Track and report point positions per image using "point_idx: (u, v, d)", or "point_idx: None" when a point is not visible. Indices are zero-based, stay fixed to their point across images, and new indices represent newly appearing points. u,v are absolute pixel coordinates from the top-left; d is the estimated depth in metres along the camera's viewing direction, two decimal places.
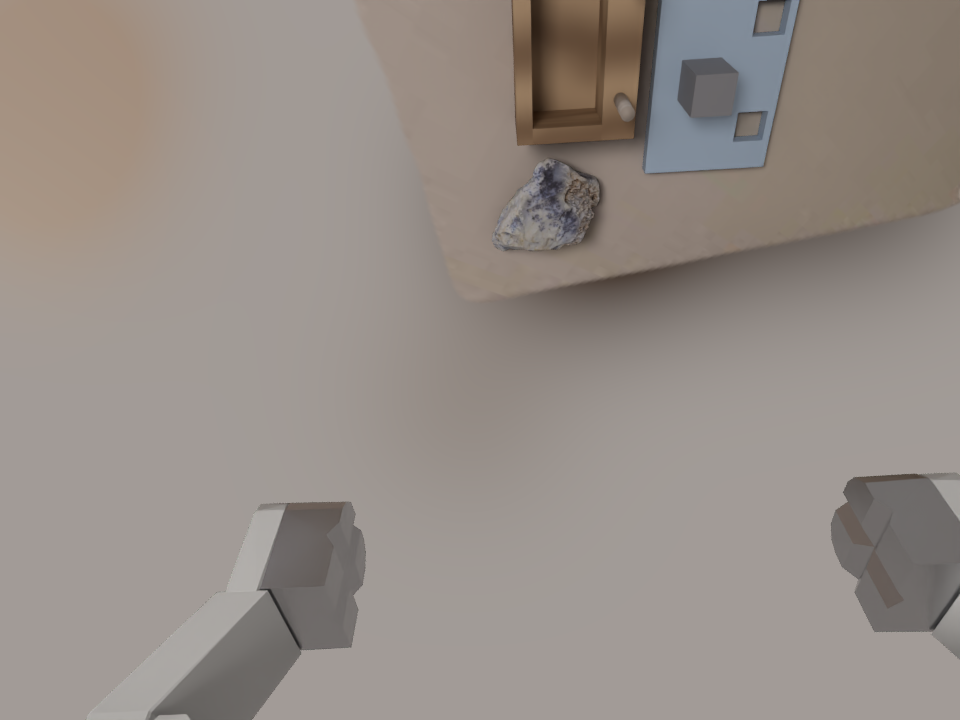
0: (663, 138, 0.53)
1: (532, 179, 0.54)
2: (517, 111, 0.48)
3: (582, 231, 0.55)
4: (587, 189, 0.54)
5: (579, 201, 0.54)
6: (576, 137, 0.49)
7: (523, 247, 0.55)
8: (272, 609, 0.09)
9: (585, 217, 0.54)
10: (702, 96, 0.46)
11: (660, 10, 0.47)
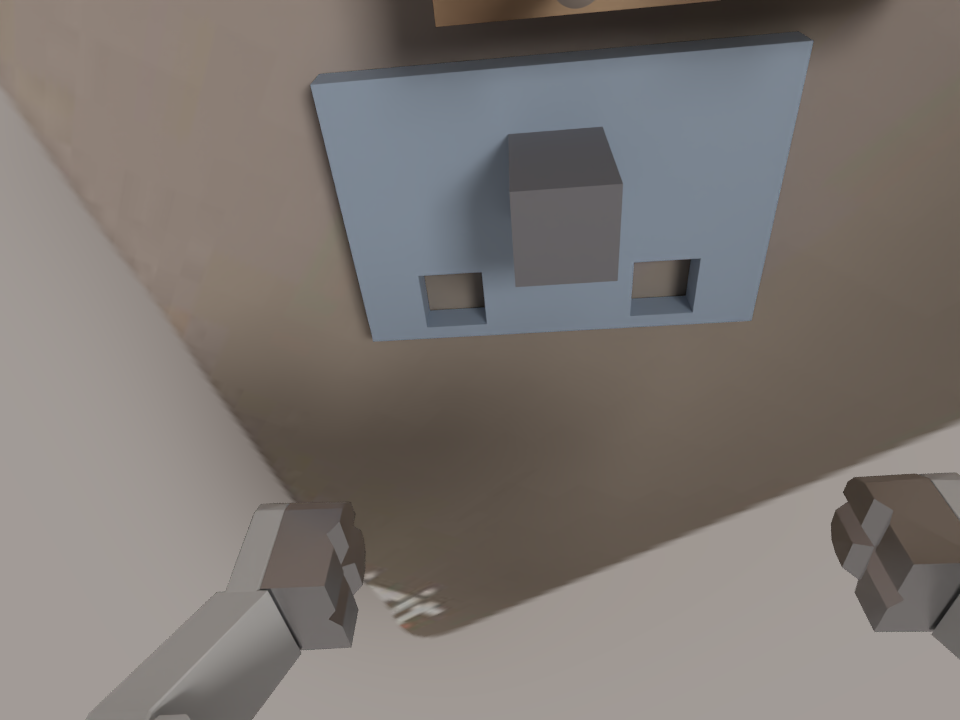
0: (410, 118, 0.20)
1: None
2: None
3: None
4: None
5: None
6: None
7: None
8: (272, 609, 0.09)
9: None
10: (565, 209, 0.17)
11: (723, 46, 0.19)
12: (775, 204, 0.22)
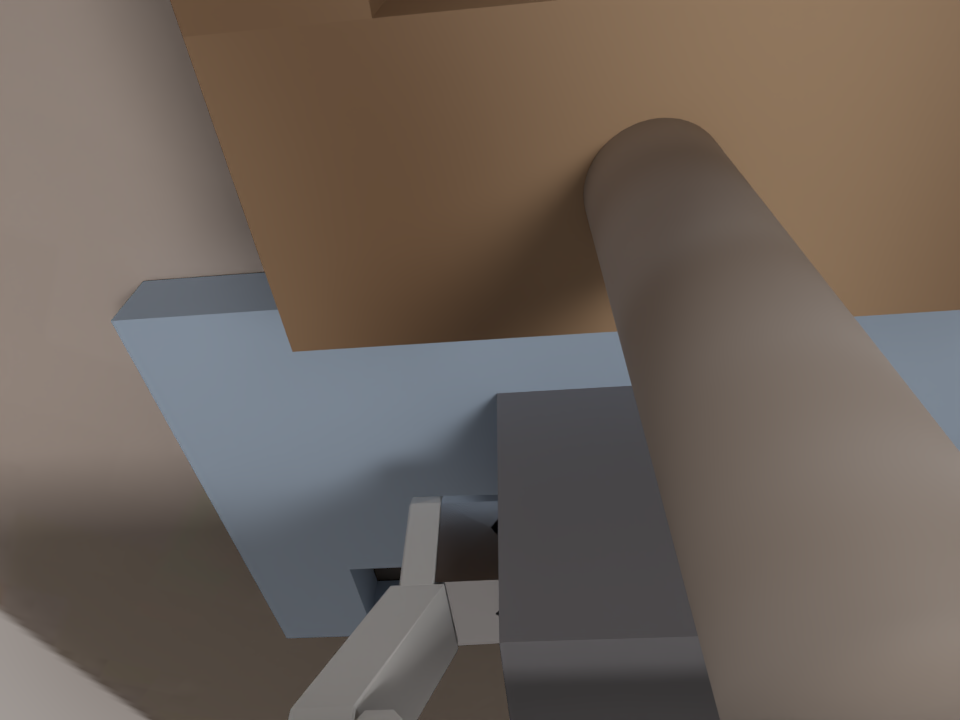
0: (312, 369, 0.11)
1: None
2: None
3: None
4: None
5: None
6: None
7: None
8: (444, 603, 0.09)
9: None
10: (624, 664, 0.08)
11: None
12: None
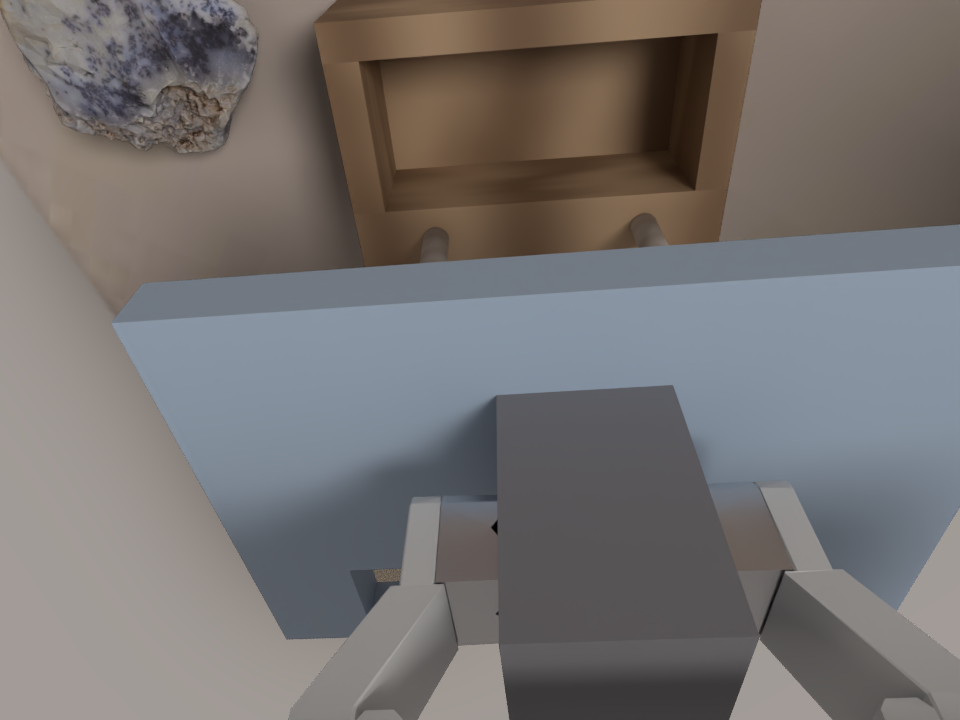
0: (312, 371, 0.11)
1: None
2: (395, 19, 0.20)
3: (95, 129, 0.23)
4: (200, 129, 0.25)
5: (170, 117, 0.23)
6: (353, 164, 0.23)
7: None
8: (444, 603, 0.09)
9: (133, 134, 0.23)
10: (624, 666, 0.08)
11: (923, 260, 0.09)
12: None
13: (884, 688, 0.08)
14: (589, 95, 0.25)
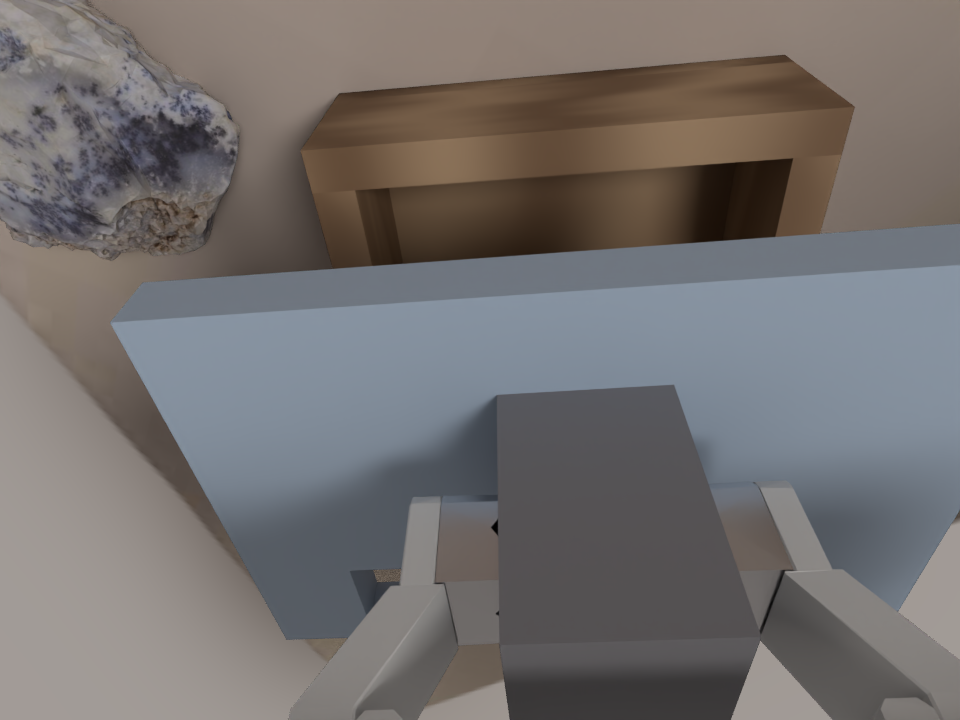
0: (312, 371, 0.11)
1: (169, 86, 0.19)
2: (398, 146, 0.16)
3: (50, 243, 0.20)
4: (175, 233, 0.21)
5: (137, 228, 0.20)
6: None
7: None
8: (444, 603, 0.09)
9: (94, 247, 0.20)
10: (626, 667, 0.08)
11: (925, 259, 0.09)
12: None
13: (883, 687, 0.08)
14: (629, 198, 0.22)
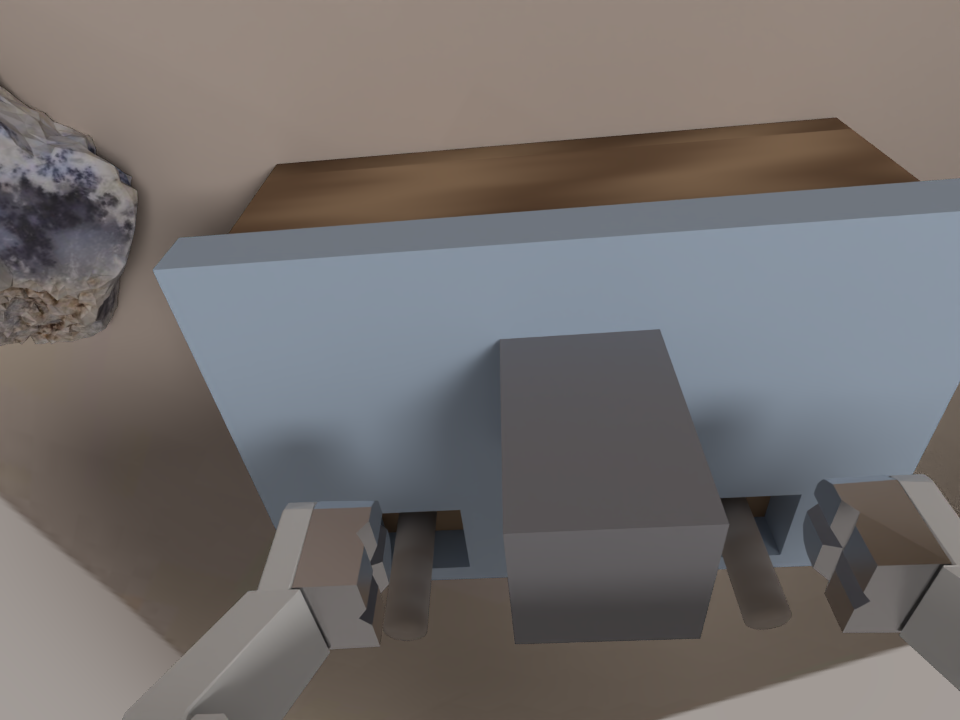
0: (333, 316, 0.12)
1: (37, 143, 0.14)
2: None
3: None
4: (60, 321, 0.17)
5: (1, 322, 0.15)
6: None
7: None
8: (303, 608, 0.09)
9: None
10: (612, 557, 0.09)
11: (881, 210, 0.10)
12: (929, 427, 0.13)
13: None
14: None
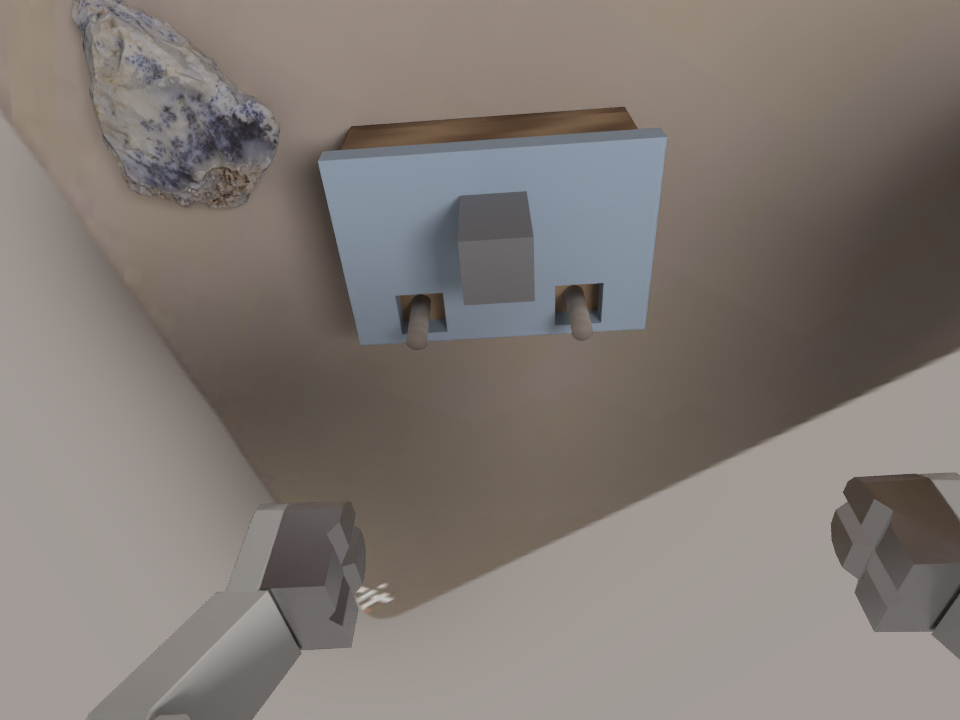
0: (389, 184, 0.28)
1: (239, 97, 0.30)
2: None
3: (152, 193, 0.30)
4: (230, 193, 0.32)
5: (210, 186, 0.31)
6: None
7: (95, 80, 0.27)
8: (272, 609, 0.09)
9: (180, 198, 0.31)
10: (496, 253, 0.25)
11: (607, 139, 0.27)
12: (653, 244, 0.30)
13: None
14: None
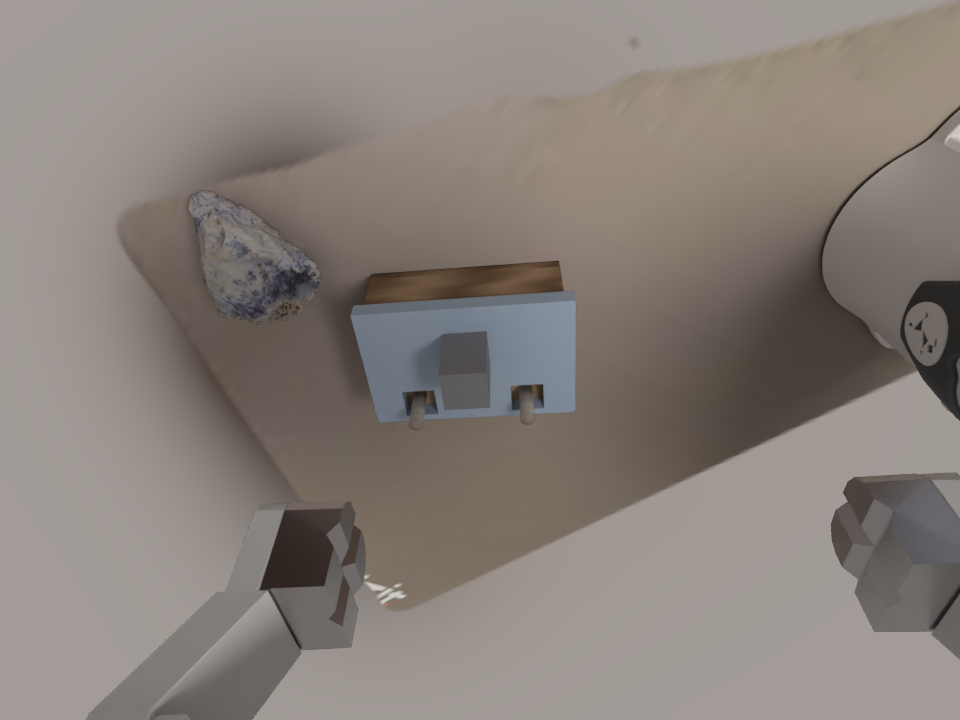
0: (397, 327, 0.43)
1: (295, 256, 0.44)
2: None
3: (235, 317, 0.45)
4: (285, 313, 0.47)
5: (273, 313, 0.45)
6: None
7: (205, 256, 0.41)
8: (272, 609, 0.09)
9: (253, 320, 0.45)
10: (463, 381, 0.40)
11: (537, 301, 0.41)
12: None
13: None
14: None
